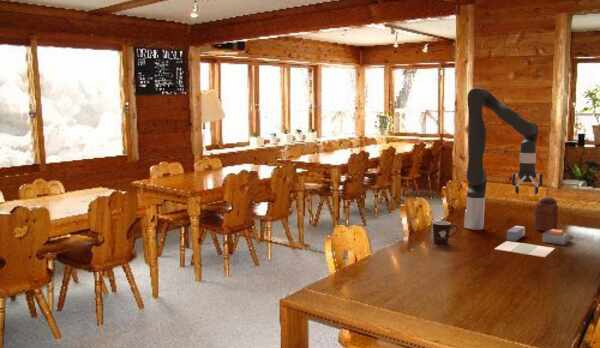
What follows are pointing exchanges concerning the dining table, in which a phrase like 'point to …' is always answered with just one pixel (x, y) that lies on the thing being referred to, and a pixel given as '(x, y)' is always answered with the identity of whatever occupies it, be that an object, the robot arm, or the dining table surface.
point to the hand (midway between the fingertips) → (526, 194)
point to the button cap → (556, 232)
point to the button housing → (555, 238)
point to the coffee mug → (442, 232)
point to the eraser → (515, 233)
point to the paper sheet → (525, 248)
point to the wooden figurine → (546, 214)
